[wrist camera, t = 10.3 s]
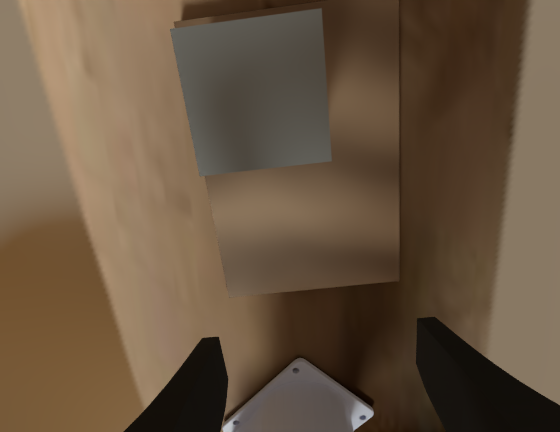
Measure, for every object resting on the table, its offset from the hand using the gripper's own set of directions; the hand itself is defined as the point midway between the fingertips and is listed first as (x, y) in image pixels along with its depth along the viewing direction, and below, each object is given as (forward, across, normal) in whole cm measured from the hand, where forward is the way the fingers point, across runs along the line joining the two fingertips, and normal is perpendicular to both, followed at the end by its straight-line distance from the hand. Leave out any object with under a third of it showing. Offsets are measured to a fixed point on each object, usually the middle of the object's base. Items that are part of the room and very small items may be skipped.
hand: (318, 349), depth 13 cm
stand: (+10, 0, -5) cm, 11 cm away
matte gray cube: (+9, +1, -9) cm, 13 cm away
